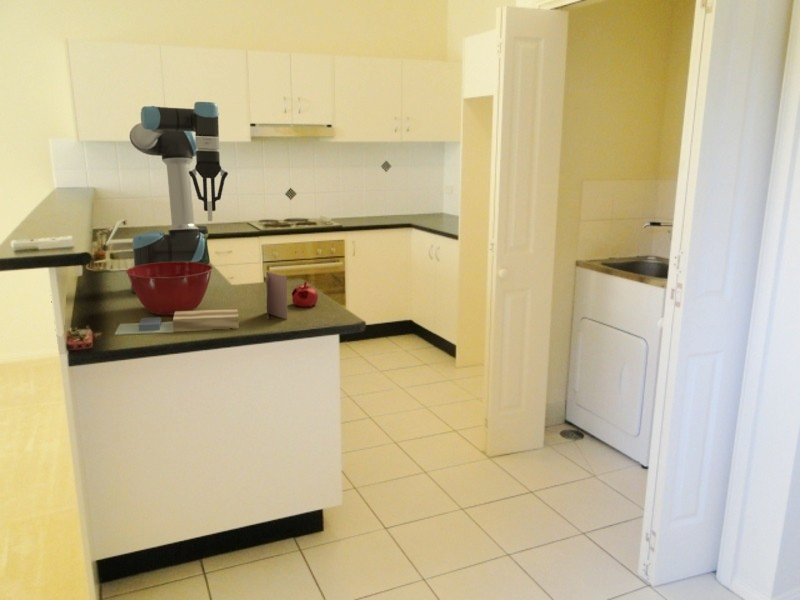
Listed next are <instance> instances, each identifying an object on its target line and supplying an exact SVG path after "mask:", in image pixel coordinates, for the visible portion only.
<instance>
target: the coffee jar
mask: <svg viewBox="0 0 800 600" xmlns="http://www.w3.org/2000/svg"><path fill="white" fill-rule="evenodd" d="M195 226H196V227H198V229H199V233H202V234H203V235H204V253H203V256H202V258H201V260H199V261H196V262H197V263H204V264H208V265H209V264H210V263H211V261H210V254H209V248H208V246H209V245H208V237H209V231H208V227H207V226H206V225H195Z"/></svg>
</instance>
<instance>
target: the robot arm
mask: <svg viewBox="0 0 800 600" xmlns="http://www.w3.org/2000/svg"><path fill="white" fill-rule="evenodd" d="M193 105H194V106H193V108H182V107H168V106H167V107H166V106H155V105H151V106H149V105H148V106H142V108H141V110H140V123H137V124H135V125H134V126H133V127H132V128H131V130H130V132H129V140H130V141H129V142H130V143H131V144H132V145H131V146H133V147H134V148H135V149H136V150H138V151H140V152H141V153H143V154H145V155H149V156H158V157H159V156H161V161H162V162H163V163H164V164H165V165H166V172H167V174H166V175H167V183H168V195H169V205H170V206H169V207H170V217H171V226H170V227H169V228H168V231H167V232H168V234H167V233H165V232H164V231H163V230H149V231H144V232H139V233H137V234H135V235H134V236H133V238H132V246H131V247H132V252H133V253H132V254H133V267H135V266H138V265H144V264H150V263H160V262H196V261H199V260H201V258H202V256H203V253H204V235H203V234H202V233H199V229H198V227H196V226H197V225H195V217H194V206H193V205H194V203H193V193H192V191H193V190H192V183H193V185H194V186H193V187H194V189H195V192H196V193H195V194H196V196H197V199H198V200H199V201H201V202H203V210H204V212H207V222H213V221H214V220H213V212H216V209H217V208H216V202H217V201H220V200H221V199H222V194H223V189H224V184H225V181H226V178H227V176H228V175H229V173H228V171H226V170H224V169H222V166H221V163H220V160H221V159H220V156H221V155H220V151H218V150H220V135H219V134H220V132H219V129H220V128H219V126H220V125H219V115H220V114H219V108H218V104H217V103H216V102H209V101H196V102H194V104H193ZM194 133H195V134H194ZM193 157H195V160H196V161H195V163H196V164H195V166H194V168H193V169H192V170H190V165H191V163H192V162H193V161H194V159H193ZM197 173H198V174H199V176H200V177H201V179H202V191H203V193H201V189H200V186H199V182H198V179H197ZM219 173H220V177H221V178H220V183H219V185H218V186H219V187H218V190H217V191H218V192H217V195H216V187H215V186H216V185H215V184H216V183H215V179H216V177H217V176H218V175H219ZM191 178H192V182H191ZM208 179H210V189H211V190H210V191H211V192H210V193H211V194H210V197H211V200H210V201H209V200H208ZM202 194H203V195H202ZM130 292H131V293H133V294H136V293H135V291H134V289H133V287H132V285H131V284H130Z"/></svg>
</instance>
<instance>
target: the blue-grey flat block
mask: <svg viewBox="0 0 800 600" xmlns="http://www.w3.org/2000/svg"><path fill="white" fill-rule="evenodd" d="M161 322H162V317H161V316H158V317H141V318H140V321H139V322H138V323H139V331H151V330H160V327H161Z"/></svg>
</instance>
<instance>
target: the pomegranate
mask: <svg viewBox="0 0 800 600" xmlns="http://www.w3.org/2000/svg"><path fill="white" fill-rule="evenodd" d="M303 283H304V284H299V285H297V286H295V288H294V289H293V290H292V292H291V300H292V304H293V305H294V306H296V307H301V308H307V307H308V308H310V307H313V305H314V306H315V305H317V303H318V301H319V296H318V293H317V291H316V290H315V288H312V287H315V285H308V284H307V283H308V282H307V281H306V280H305V281H304V282H303Z"/></svg>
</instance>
